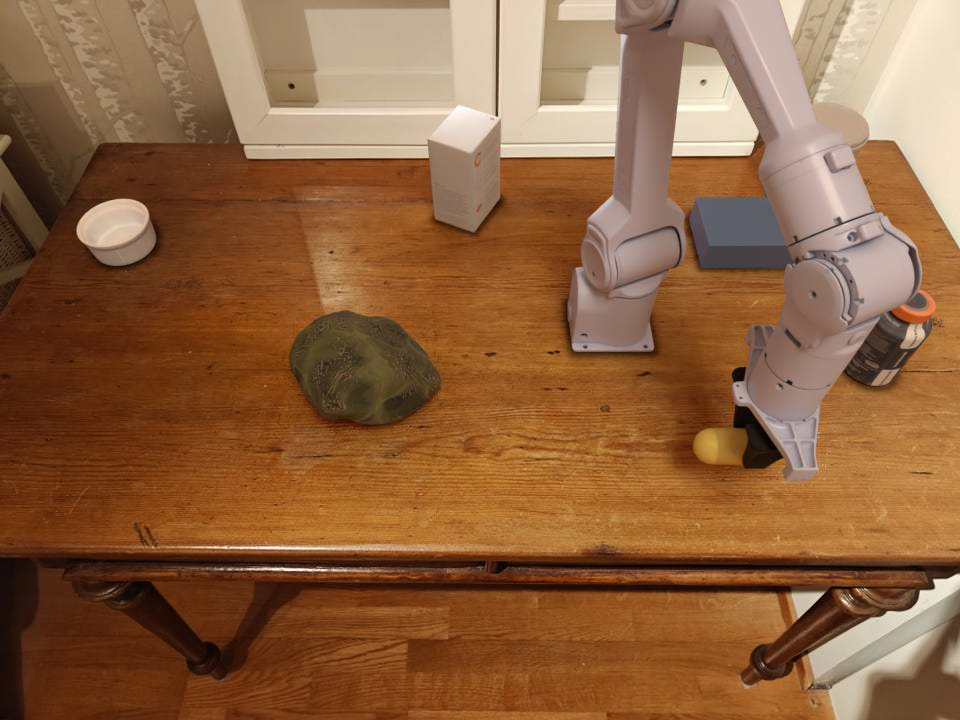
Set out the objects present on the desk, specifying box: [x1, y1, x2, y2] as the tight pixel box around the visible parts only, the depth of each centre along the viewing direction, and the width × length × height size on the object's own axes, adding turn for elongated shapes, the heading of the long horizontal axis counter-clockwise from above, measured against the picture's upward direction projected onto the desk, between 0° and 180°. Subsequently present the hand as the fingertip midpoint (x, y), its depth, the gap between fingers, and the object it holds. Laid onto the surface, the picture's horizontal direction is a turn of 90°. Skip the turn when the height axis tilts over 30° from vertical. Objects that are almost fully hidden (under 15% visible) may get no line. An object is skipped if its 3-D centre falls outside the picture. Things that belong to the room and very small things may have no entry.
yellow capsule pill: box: [692, 427, 786, 466], centre depth 65 cm, size 10×3×3 cm, turn 90°
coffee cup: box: [812, 102, 870, 161], centre depth 92 cm, size 9×9×12 cm
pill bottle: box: [844, 288, 937, 387], centre depth 75 cm, size 6×6×11 cm
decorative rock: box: [288, 309, 442, 426], centre depth 75 cm, size 15×16×10 cm
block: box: [688, 196, 794, 269], centre depth 90 cm, size 14×9×4 cm, turn 90°
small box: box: [426, 105, 502, 233], centre depth 91 cm, size 8×6×13 cm
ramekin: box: [75, 198, 157, 267], centre depth 91 cm, size 9×9×4 cm
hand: (748, 446), depth 65 cm, fingers closed on yellow capsule pill, 3 cm apart
